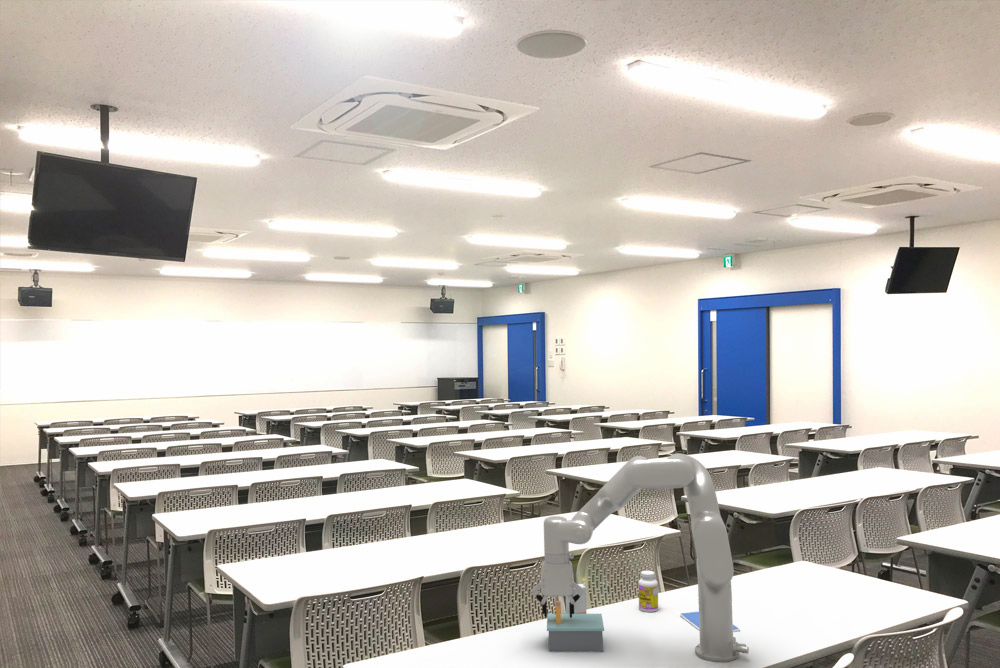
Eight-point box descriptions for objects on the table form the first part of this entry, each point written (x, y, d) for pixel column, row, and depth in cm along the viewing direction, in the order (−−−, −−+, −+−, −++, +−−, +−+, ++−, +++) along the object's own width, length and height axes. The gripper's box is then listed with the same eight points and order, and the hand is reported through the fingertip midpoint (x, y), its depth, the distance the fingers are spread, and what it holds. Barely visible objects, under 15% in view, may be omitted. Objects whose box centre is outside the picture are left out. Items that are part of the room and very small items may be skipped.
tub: (600, 639, 238) (600, 616, 238) (603, 654, 226) (602, 630, 226) (549, 639, 239) (549, 616, 239) (549, 654, 227) (548, 630, 227)
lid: (601, 618, 239) (601, 597, 239) (604, 633, 226) (603, 611, 226) (547, 618, 240) (546, 597, 240) (546, 633, 227) (546, 611, 227)
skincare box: (570, 625, 251) (569, 588, 251) (565, 621, 255) (564, 585, 256) (587, 623, 253) (586, 586, 253) (582, 619, 257) (581, 583, 257)
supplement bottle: (635, 609, 265) (634, 572, 265) (646, 605, 269) (645, 568, 270) (651, 614, 260) (650, 576, 260) (662, 609, 265) (661, 572, 265)
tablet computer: (741, 633, 242) (741, 628, 242) (705, 637, 239) (704, 632, 239) (712, 613, 261) (712, 609, 261) (678, 617, 258) (678, 613, 258)
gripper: (584, 554, 237) (586, 612, 236) (528, 555, 238) (530, 612, 238) (585, 561, 229) (587, 620, 229) (528, 561, 231) (529, 620, 230)
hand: (558, 615), depth 233 cm, fingers open, 7 cm apart
